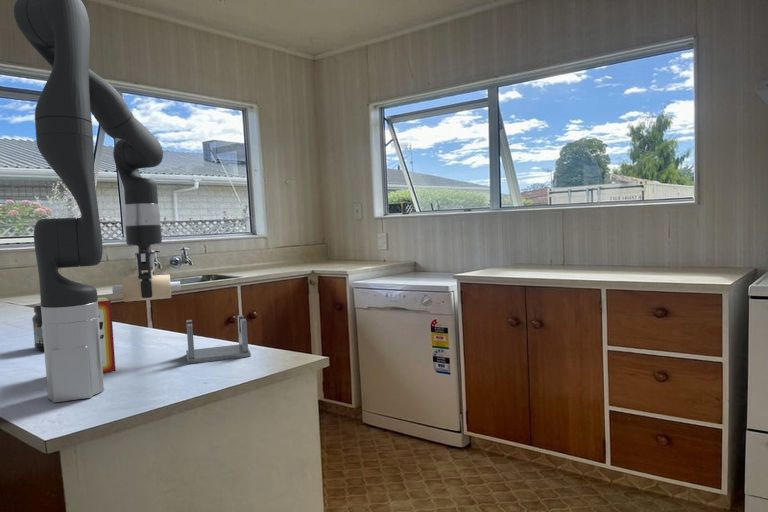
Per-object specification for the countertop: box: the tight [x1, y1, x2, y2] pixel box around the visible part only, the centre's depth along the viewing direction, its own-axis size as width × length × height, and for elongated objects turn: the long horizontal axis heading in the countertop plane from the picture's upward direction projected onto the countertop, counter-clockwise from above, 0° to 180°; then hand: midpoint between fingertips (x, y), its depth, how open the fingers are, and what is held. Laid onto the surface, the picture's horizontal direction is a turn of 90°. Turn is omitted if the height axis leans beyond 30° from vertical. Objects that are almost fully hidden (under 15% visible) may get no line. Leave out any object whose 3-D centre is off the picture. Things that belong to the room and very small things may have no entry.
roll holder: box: [186, 314, 252, 365], centre depth 128 cm, size 10×14×8 cm
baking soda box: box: [98, 296, 117, 374], centre depth 117 cm, size 10×6×16 cm
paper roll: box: [112, 274, 182, 303], centre depth 125 cm, size 14×6×6 cm, turn 110°
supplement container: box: [31, 302, 44, 352], centre depth 144 cm, size 10×10×12 cm
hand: (147, 296), depth 125 cm, fingers closed on paper roll, 5 cm apart
